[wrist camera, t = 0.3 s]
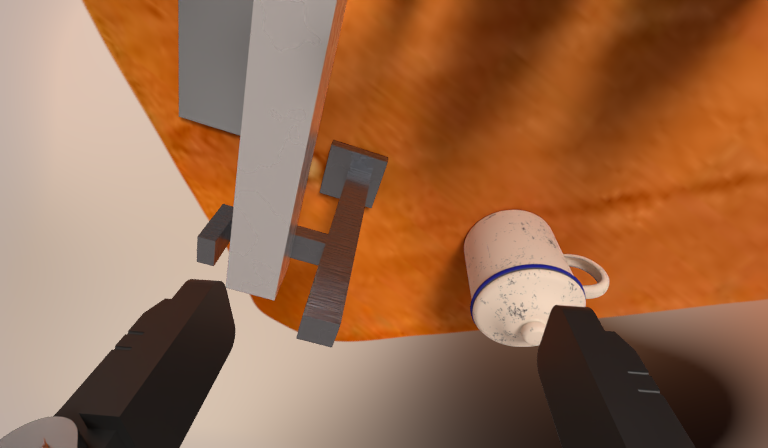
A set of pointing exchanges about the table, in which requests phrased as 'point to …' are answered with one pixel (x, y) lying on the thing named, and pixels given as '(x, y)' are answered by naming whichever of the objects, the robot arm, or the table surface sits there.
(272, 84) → the aluminium rail
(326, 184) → the rail stand
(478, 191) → the table surface
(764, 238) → the table surface
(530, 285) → the teacup with lid
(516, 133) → the table surface
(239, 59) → the rubber mat
